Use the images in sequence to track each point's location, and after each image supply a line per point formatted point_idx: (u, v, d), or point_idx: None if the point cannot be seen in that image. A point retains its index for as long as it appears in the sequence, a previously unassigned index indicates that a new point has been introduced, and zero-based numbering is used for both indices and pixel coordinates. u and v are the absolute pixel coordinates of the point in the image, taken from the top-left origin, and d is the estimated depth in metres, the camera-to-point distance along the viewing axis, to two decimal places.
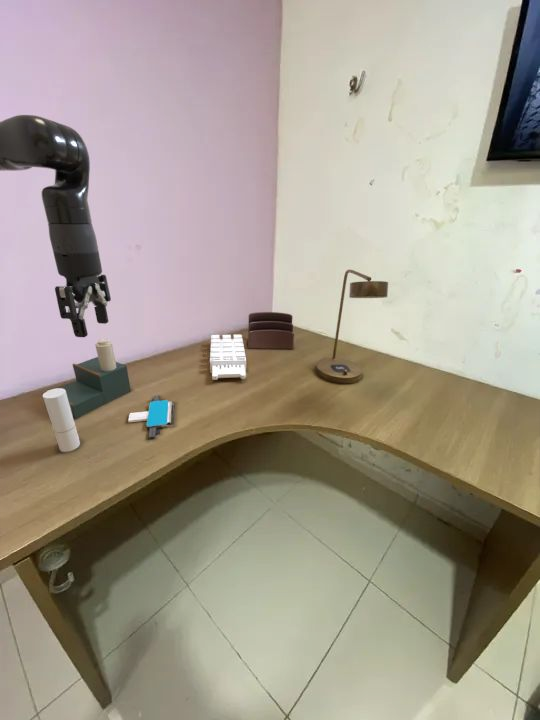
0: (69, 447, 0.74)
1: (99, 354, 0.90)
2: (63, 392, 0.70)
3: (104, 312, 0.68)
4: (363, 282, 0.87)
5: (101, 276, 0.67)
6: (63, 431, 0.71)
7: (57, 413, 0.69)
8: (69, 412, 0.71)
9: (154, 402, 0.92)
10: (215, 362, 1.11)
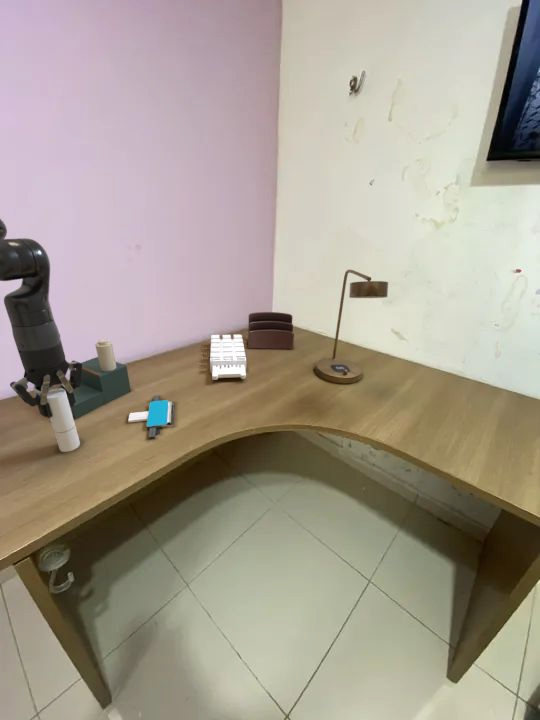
0: (69, 447, 0.74)
1: (99, 354, 0.90)
2: (63, 392, 0.70)
3: (68, 398, 0.71)
4: (363, 282, 0.87)
5: (76, 364, 0.71)
6: (63, 431, 0.71)
7: (57, 413, 0.69)
8: (69, 412, 0.71)
9: (154, 402, 0.92)
10: (215, 362, 1.11)
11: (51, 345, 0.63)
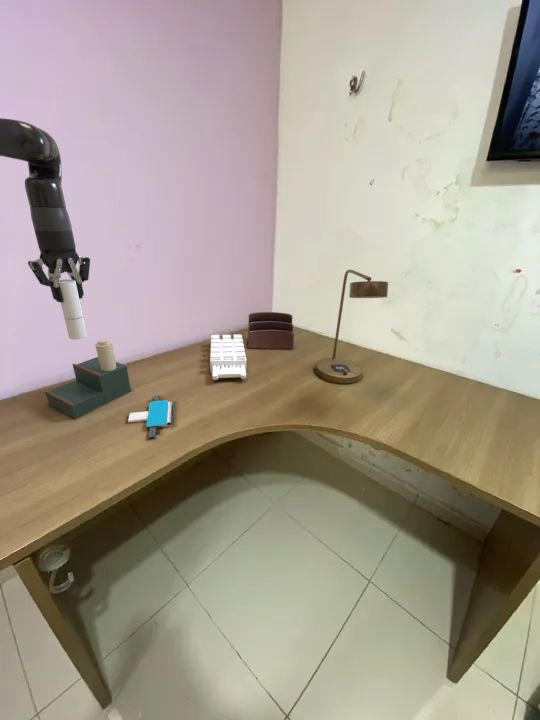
0: (78, 335, 0.83)
1: (99, 354, 0.90)
2: (73, 281, 0.79)
3: (78, 289, 0.81)
4: (363, 282, 0.87)
5: (85, 258, 0.80)
6: (72, 318, 0.80)
7: (68, 299, 0.78)
8: (78, 301, 0.81)
9: (154, 402, 0.92)
10: (215, 362, 1.11)
11: (64, 229, 0.72)
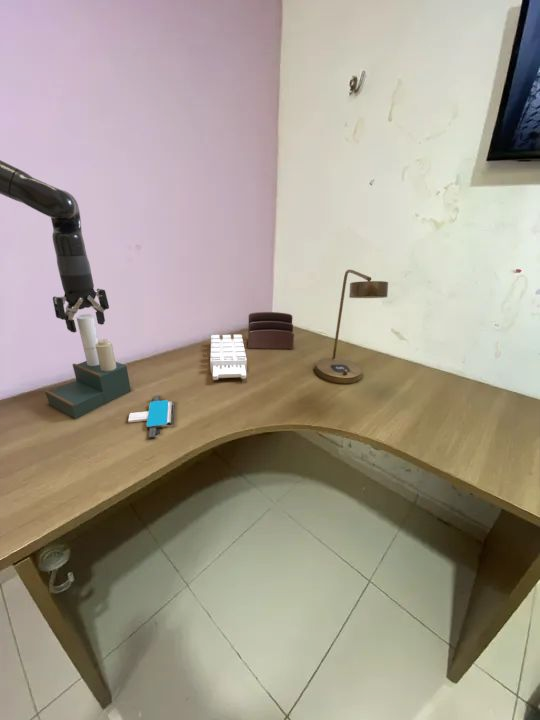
0: (95, 362, 0.95)
1: (99, 354, 0.90)
2: (91, 316, 0.91)
3: (100, 316, 0.93)
4: (363, 282, 0.87)
5: (100, 291, 0.92)
6: (90, 348, 0.92)
7: (87, 332, 0.90)
8: (95, 333, 0.93)
9: (154, 402, 0.92)
10: (216, 362, 1.11)
11: (85, 273, 0.84)
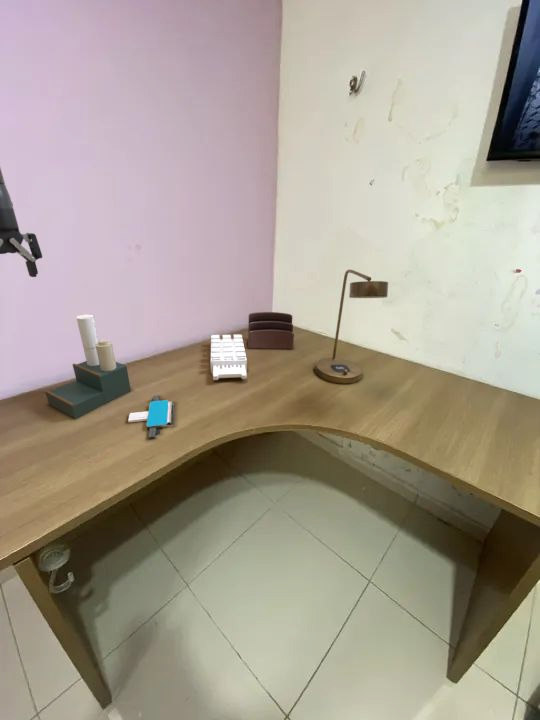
0: (95, 362, 0.95)
1: (99, 354, 0.90)
2: (91, 316, 0.91)
3: (31, 266, 0.78)
4: (363, 282, 0.87)
5: (29, 235, 0.76)
6: (90, 348, 0.92)
7: (87, 332, 0.90)
8: (95, 333, 0.93)
9: (154, 402, 0.92)
10: (216, 362, 1.11)
11: (2, 206, 0.68)
